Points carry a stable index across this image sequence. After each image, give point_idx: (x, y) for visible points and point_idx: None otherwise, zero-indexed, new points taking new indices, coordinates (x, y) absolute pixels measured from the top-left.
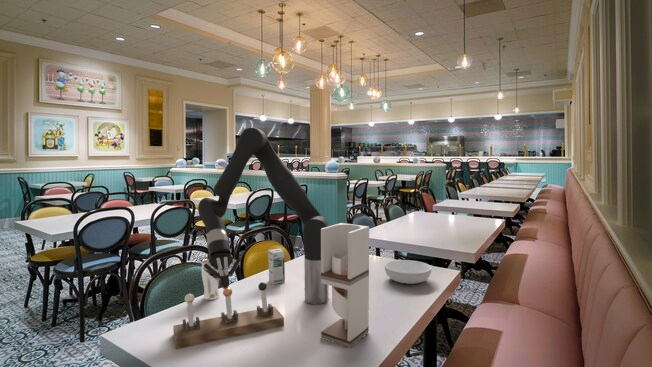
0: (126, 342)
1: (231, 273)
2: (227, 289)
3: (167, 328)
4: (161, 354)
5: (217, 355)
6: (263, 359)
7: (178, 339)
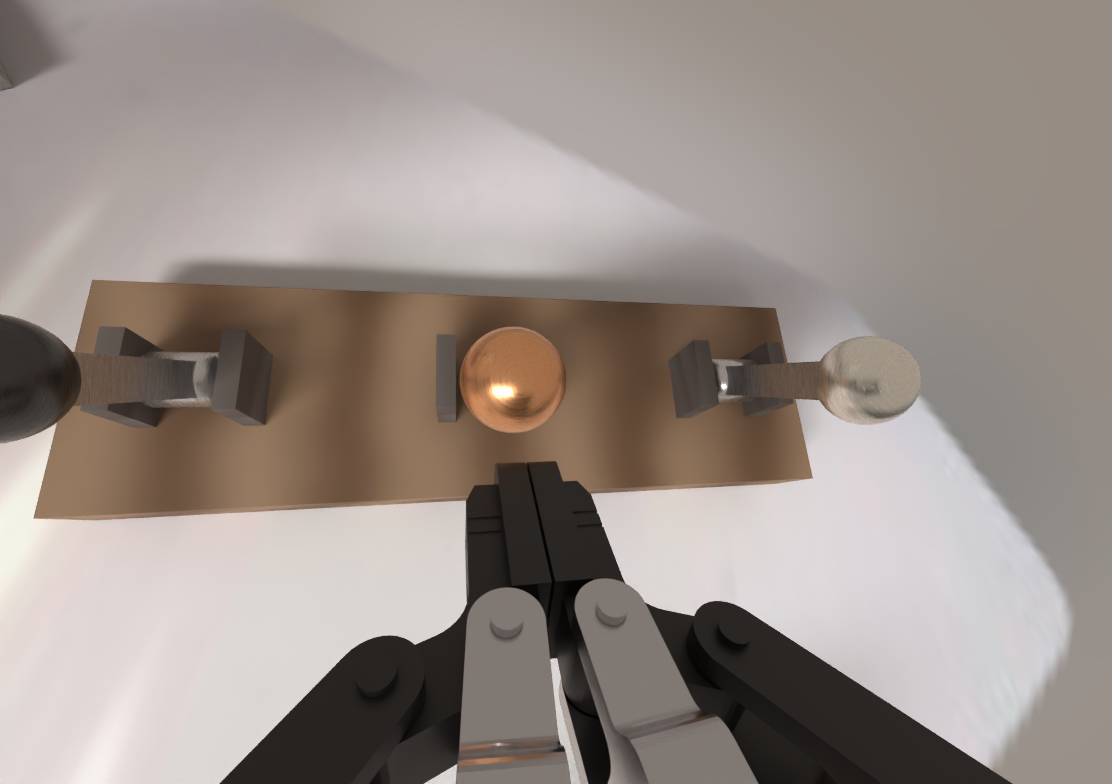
0: (958, 490)
1: (389, 649)
2: (524, 338)
3: (817, 579)
4: (794, 313)
5: (580, 200)
6: (404, 84)
7: (762, 309)
